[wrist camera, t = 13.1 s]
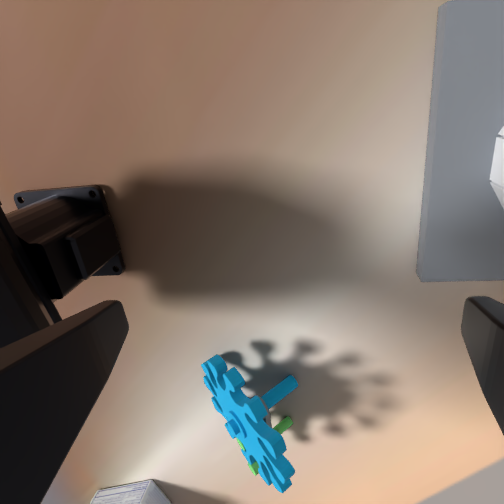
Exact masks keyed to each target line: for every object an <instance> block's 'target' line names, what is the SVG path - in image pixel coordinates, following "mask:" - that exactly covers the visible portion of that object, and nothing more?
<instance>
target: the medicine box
mask: <svg viewBox="0 0 504 504" xmlns="http://www.w3.org/2000/svg"><path fill="white" fill-rule="evenodd" d="M90 504H171V501H170V500H169V499H168V498H167V497H166V495H165V494H164V493H163V492H162V490H161V489H160V488H159V487H158V486H157V484H156V483H155V482H154V481H153V480H147V481H142V482H137V483H132V484H127V485H122V486H117V487H112V488H107V489H102V490H97V492H96V493H95V495H94V497H93V499H92V501H91V502H90Z"/></svg>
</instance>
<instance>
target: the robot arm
mask: <svg viewBox="0 0 504 504" xmlns="http://www.w3.org/2000/svg"><path fill="white" fill-rule="evenodd" d="M92 190H93V191H94V192H95V193H96V196H94V195H93V193H92ZM22 198H23V199H24V201H23V200H22ZM14 201H15V203H16V206H17V208H18V210H15V211H13V212H10V213H8V214H4V212H3V210H2V208H1V206H0V504H41V502H42V500H43V498H44V497H45V495H46V493H47V491H48V489H49V487H50V486H51V484H52V482H53V480H54V478H55V476H56V474H57V473H58V471H59V469H60V467H61V465H62V463H63V462H64V460H65V458H66V456H67V454H68V452H69V451H70V449H71V447H72V445H73V443H74V441H75V440H76V438H77V436H78V434H79V432H80V430H81V429H82V427H83V425H84V423H85V421H86V419H87V417H88V416H89V414H90V412H91V410H92V408H93V406H94V405H95V403H96V401H97V399H98V397H99V395H100V394H101V392H102V390H103V388H104V386H105V384H106V382H107V380H108V378H109V376H110V374H111V372H112V369H113V367H114V365H115V362H116V360H117V358H118V355H119V353H120V350H121V348H122V346H123V343H124V341H125V339H126V336H127V334H128V330H129V324H128V321H127V318H126V315H125V311H124V308H123V305H122V303H121V302H120V301H117V300H109V301H103V302H101V303H99V304H97V305H95V306H92V307H90V308H88V309H86V310H84V311H81V312H79V313H77V314H75V315H73V316H70V317H68V318H66V319H64V320H62V318H61V316H60V315H59V313H58V311H57V309H56V307H55V305H54V304H53V303H54V302H55V301H56V300H57V299H62V298H63V297H64V296H66V295H67V294H68V293H69V292H70V291H72V290H73V289H74V288H75V287H77V286H78V285H79V284H80V283H81V282H83V281H84V280H86V279H88V278H89V277H90V276H107V275H120V274H121V273H122V272H123V271H124V270H125V265H124V262H123V258H122V255H121V252H120V246H119V242H118V239H117V236H116V232H115V229H114V226H113V222H112V219H111V217H110V215H109V212H108V208H107V205H106V202H105V198H104V195H103V192H102V190H101V188H100V187H98V186H97V185H88V186H76V187H65V188H54V189H42V190H31V191H21V192H19V193H16V194H15V195H14ZM0 205H2V204H1V202H0ZM115 266H117V267H118V268H119V269H117V268H116V267H115ZM461 332H462V336H463V339H464V342H465V345H466V348H467V350H468V353H469V356H470V359H471V362H472V364H473V367H474V370H475V373H476V376H477V378H478V381H479V384H480V387H481V389H482V392H483V394H484V396H485V398H486V401H487V403H488V405H489V407H490V409H491V411H492V413H493V415H494V417H495V419H496V421H497V423H498V425H499V427H500V429H501V431H502V433H503V435H504V304H502V303H500V302H498V301H496V300H494V299H491V298H489V297H486V296H474V297H468V298H467V299H466V301H465V304H464V311H463V317H462V323H461Z"/></svg>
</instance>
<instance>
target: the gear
mask: <svg viewBox="0 0 504 504" xmlns="http://www.w3.org/2000/svg"><path fill="white" fill-rule="evenodd" d="M201 366H202V368H203V370H204V372H205V373H206V376H204V383H205V385H206V386H207V388H208V389H209V390H210V391H211V392H212V394H213V395H214V397H212V398H211V399H212V402H213V404H214V406H215V408H216V410H217V411H218V412H219V413H221V414H222V415H223V416H224V417H225V419H226V420H227V421H228V422H227V423H225V426H226V428H227V430H228V432H229V434H230V436H231V437H232V438H233V439H234V438H235V437H236V438H237V441H238V443H239V445H240V447H241V448H242V449H241V451H242V453H243V455H244V456H245V458H246V459H247V461H248V466H249V468H250V469H251V471H252V472H253V474H254V475H255V476H256V475H257V474H258V473H259V474H260V476H261V477H262V478H263V480H264V481H265V482H266V483H267V484H268V485H271V484H272V483H273V485H274V486H275V488H276V489H277V490H278V491H279V492H281V493H283V492H284V491H286V490H287V489H288V488H289V487H290V486H291V485H292V483H291V481H290V479H289V478H290V477H291V476H293V475H294V473H295V470H294V468H293V466H292V465H291V464H290V462H289V461H288V460H287V459H286V458H285V457H284V456H283V455H282V454H283V453H284V452H285V451H286V445H285V442H284V440H283V437H282V436H281V434H282V433H283V432H284V431H285V430H286V429H288V428H289V427H290V426H291V425H292V424H293V422H292V420H291V419H290V418H289V417H288V416H287V417H286V418H285V419H283V420H282V421H281V422H280V423H279V424H277V425H276V426H275V427H274V428H273V429H272V425H271V418H270V412H269V409H270V408H271V407H273V406H274V405H275V404H276V403H278V402H279V401H280V400H281V399H283V398H284V397H285V396H286V395H288V394H289V393H290V392H292V391H293V390H294V389H295V388H297V387H298V383H297V381H296V379H295V378H294V377H293V376H292V375H289V376H288V377H287V378H285V379H284V380H283V381H281V382H280V383H279V384H277V385H276V386H275V387H273V388H272V389H271V390H269V391H268V392H267V393H265V394H264V395H263V396H262V397H260V396H259V395H255V396H254V397H253V398H251V399H250V398H248V397H247V396H245V394H244V393H243V392H242V390H241V387H242V386H244V385H245V381H244V379H243V377H242V376H241V374H240V373H239V372H238V371H237V369H236V368H235V367H233V368H231V369H230V370H228V371H227V365H226V363H225V361H224V360H223V359H222V358H221V357H220V356H219V355H215V356H214V357H212V358H210V359H209V360H207V361H206V362H204V363H203V364H201ZM226 371H227V372H226Z"/></svg>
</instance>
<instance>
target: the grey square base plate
mask: <svg viewBox="0 0 504 504" xmlns="http://www.w3.org/2000/svg"><path fill="white" fill-rule="evenodd" d="M416 273H417V275H418V277H419V278H420V280H421V282H444V281H491V280H504V0H452V1H447V2H446V3H444V4H443V5H441V6H440V7H439V8H438V20H437V32H436V44H435V56H434V68H433V79H432V91H431V103H430V115H429V127H428V139H427V150H426V162H425V174H424V186H423V198H422V209H421V221H420V233H419V245H418V257H417V269H416Z"/></svg>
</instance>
